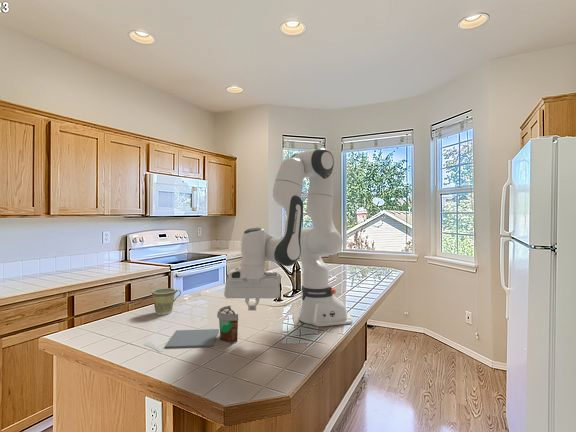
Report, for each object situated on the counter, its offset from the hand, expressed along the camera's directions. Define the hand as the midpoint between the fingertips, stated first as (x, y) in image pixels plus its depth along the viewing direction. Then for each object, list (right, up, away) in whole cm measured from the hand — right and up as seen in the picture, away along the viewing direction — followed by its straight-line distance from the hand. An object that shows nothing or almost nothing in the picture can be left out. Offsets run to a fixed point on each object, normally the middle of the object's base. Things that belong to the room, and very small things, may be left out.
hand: (252, 310), depth 120 cm
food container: (-10, -10, 0) cm, 14 cm away
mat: (-21, -10, -1) cm, 23 cm away
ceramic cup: (-42, -10, +30) cm, 53 cm away
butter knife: (-28, -11, -13) cm, 32 cm away
